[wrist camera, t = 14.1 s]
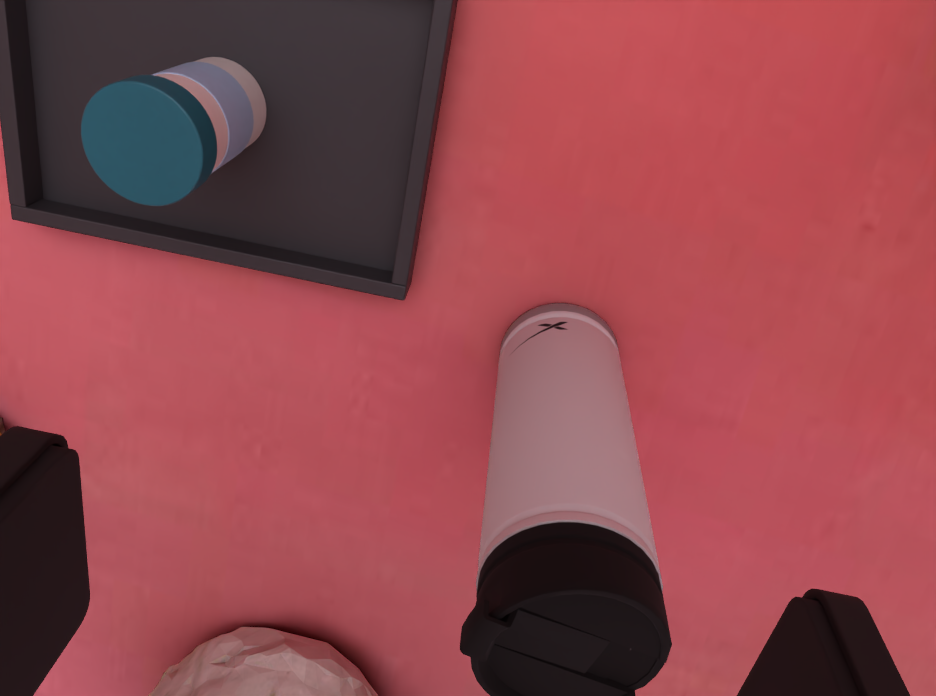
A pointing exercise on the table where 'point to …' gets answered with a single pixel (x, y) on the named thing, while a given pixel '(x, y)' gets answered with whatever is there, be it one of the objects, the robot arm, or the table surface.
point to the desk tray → (271, 155)
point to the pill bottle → (171, 128)
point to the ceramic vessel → (263, 668)
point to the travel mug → (564, 522)
